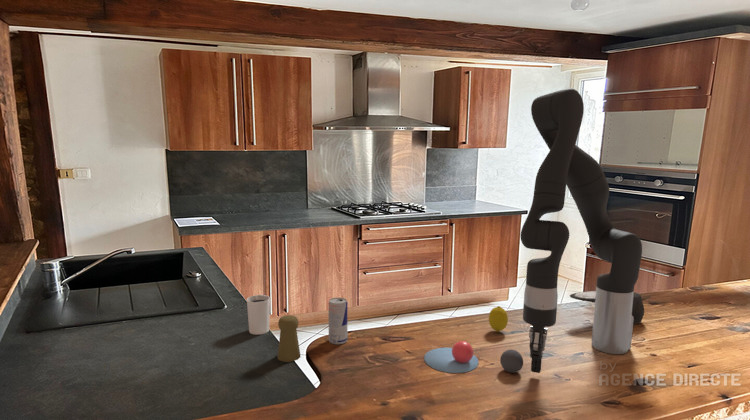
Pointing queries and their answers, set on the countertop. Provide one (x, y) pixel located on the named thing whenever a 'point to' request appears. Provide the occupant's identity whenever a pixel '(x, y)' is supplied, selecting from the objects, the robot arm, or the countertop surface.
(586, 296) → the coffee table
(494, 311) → the lemon
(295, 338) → the cork
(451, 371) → the blue mark
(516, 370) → the gray ball
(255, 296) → the white cup
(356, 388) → the countertop surface
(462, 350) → the red ball
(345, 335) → the energy drink
